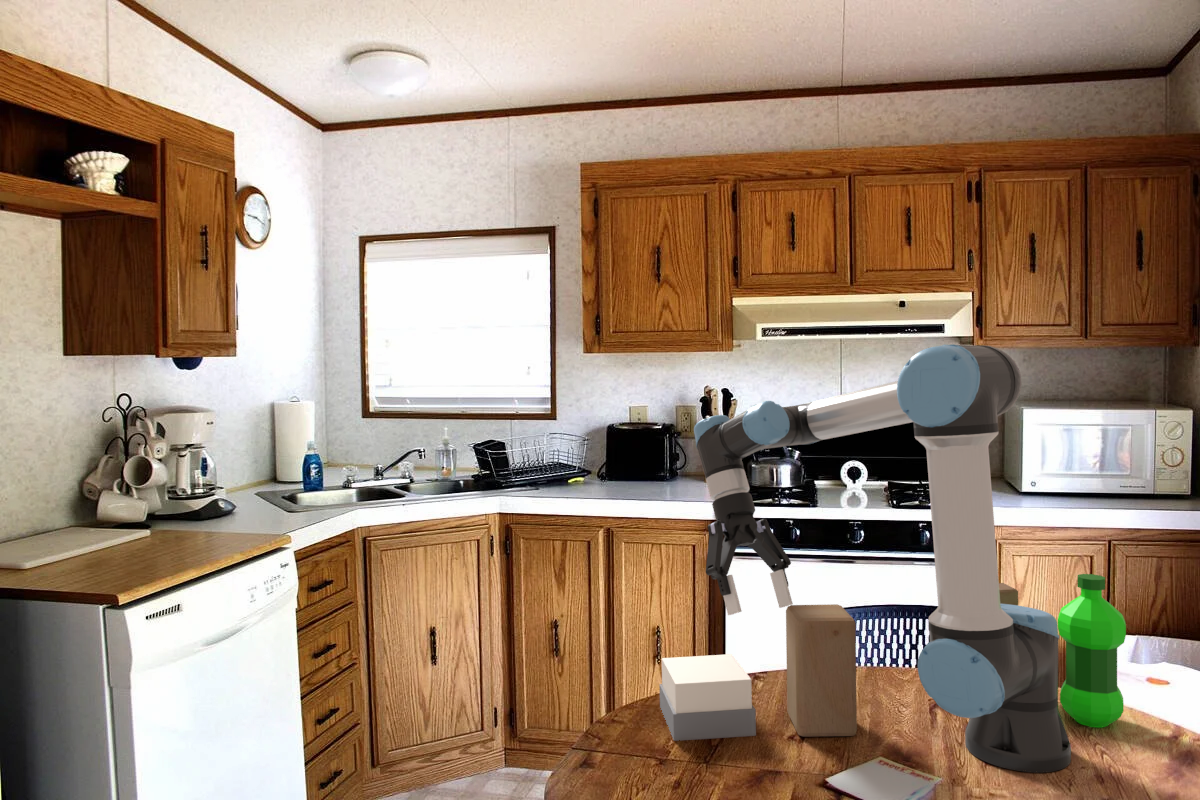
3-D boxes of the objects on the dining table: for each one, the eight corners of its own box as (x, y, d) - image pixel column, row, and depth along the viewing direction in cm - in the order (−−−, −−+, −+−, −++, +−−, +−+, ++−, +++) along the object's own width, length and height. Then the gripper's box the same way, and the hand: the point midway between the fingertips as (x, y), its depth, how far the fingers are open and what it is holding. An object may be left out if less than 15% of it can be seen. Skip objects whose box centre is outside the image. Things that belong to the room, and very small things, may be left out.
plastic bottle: (1115, 739, 141) (1115, 587, 140) (1047, 720, 149) (1047, 577, 148) (1135, 721, 148) (1136, 576, 147) (1069, 704, 156) (1069, 567, 155)
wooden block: (858, 738, 144) (857, 619, 143) (798, 739, 144) (796, 620, 143) (842, 714, 154) (841, 602, 153) (786, 714, 154) (784, 603, 153)
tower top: (751, 708, 146) (751, 679, 146) (675, 713, 145) (675, 684, 144) (732, 681, 159) (731, 654, 159) (662, 685, 158) (661, 658, 157)
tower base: (756, 738, 146) (755, 709, 146) (674, 743, 145) (673, 714, 144) (735, 706, 160) (734, 679, 160) (660, 711, 158) (659, 684, 158)
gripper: (761, 501, 173) (791, 607, 166) (669, 504, 158) (697, 621, 151) (789, 489, 168) (821, 598, 161) (696, 491, 153) (726, 611, 145)
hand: (761, 609), depth 156 cm, fingers open, 13 cm apart
